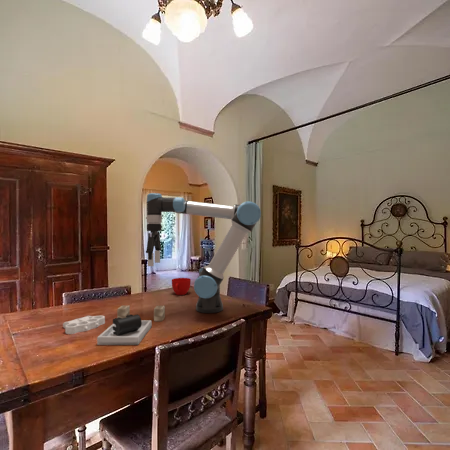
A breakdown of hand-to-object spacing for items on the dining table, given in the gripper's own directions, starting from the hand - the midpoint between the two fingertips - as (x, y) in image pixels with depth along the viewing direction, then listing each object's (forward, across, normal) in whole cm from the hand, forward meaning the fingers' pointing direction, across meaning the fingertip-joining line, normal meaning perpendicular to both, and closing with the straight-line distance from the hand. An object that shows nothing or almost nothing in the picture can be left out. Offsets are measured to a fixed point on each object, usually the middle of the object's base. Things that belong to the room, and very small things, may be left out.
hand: (154, 264), depth 147 cm
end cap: (+26, +26, -5) cm, 37 cm away
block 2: (+27, +5, +4) cm, 28 cm away
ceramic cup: (+27, -46, +6) cm, 54 cm away
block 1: (+27, +5, -14) cm, 31 cm away
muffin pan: (+27, +16, -28) cm, 42 cm away
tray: (+27, +26, -5) cm, 38 cm away
